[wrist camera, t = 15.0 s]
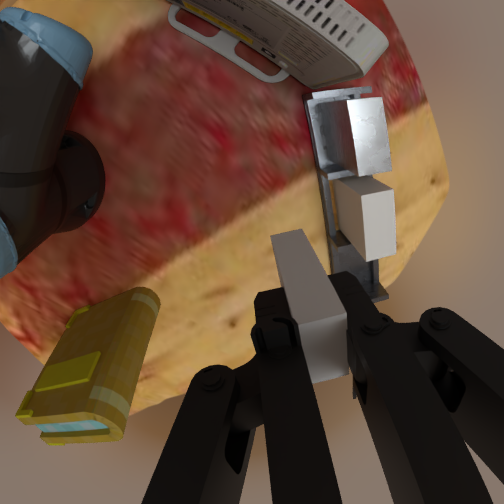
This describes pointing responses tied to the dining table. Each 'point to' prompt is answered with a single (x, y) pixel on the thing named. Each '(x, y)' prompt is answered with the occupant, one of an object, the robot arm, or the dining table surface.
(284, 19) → the network device
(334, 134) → the rack
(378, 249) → the block
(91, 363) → the book
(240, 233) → the dining table surface
